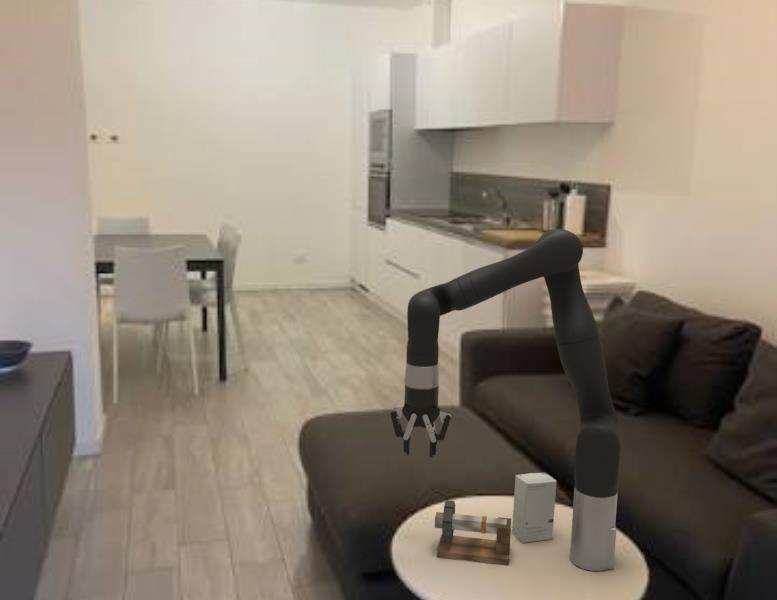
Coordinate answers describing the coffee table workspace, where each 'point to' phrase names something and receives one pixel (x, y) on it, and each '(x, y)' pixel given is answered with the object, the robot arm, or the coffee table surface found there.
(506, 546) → the pipe stand
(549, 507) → the skincare box
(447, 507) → the o ring
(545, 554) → the coffee table surface
